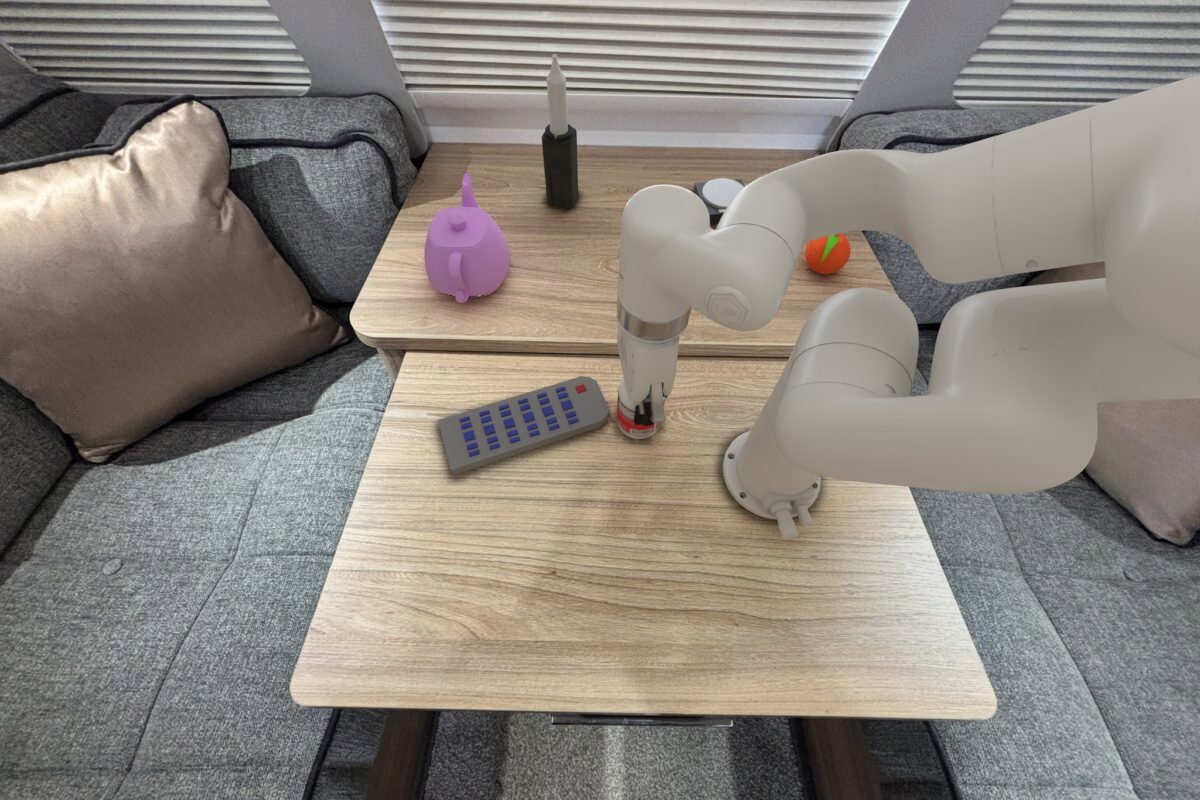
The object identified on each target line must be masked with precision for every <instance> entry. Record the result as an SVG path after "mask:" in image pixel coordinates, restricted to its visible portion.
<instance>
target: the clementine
mask: <svg viewBox="0 0 1200 800" xmlns="http://www.w3.org/2000/svg"><path fill="white" fill-rule="evenodd" d="M851 252H852V250H851V244H850V241H849V239H848V238H847V237H846V236H845V234H844V233H840V234H836V235H831V236H827V237H823V238H819V239H815V240H812V241H808V242H807V244H806V247H805V251H804V257H805V262H806V265H808V267H809V269H810V270H812V271H813V272H815V273H818V274H821V275H822V274H823V275H830V274H833V273H837V272H838V271H840V270H842V269H843V268H844V267H845V265H846V264H847V262H848V261H849V260H850V256H851Z"/></svg>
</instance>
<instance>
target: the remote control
mask: <svg viewBox="0 0 1200 800" xmlns="http://www.w3.org/2000/svg"><path fill="white" fill-rule="evenodd" d="M610 411H611V410H610V407H609V405H608V403H607V401H606V399H605V397H604V394H603V391H602V390H601V387H600V385H599V383H598V381H597V380H596V379H594V378H592V377H590V376H583V375H580V376H577V377H574V378H570V379H568V380H567V379H566V380H564V381H561V382H558V383H555V384H551V385H548V386H544V387H541V388H538V389H534V390H532V391H528V392H525V393H522V394H518V395H515V396H512V397H509V398H506V399H505V398H504V399H502V400H499V401H495V402H492V403H489V404H486V405H482V406H479V407H476V408H473V409H469V410H466V411H463V412H459V413H456V414H453V415H450V416H446V417H444V418H440V419H437V422H438V427H439V431H440V435H441V439H442V442H443V446H444V450H445V455H446V457H447V462H448V466H449V469H450V472H451V474H452V475H453V476H457V475H459V474H462V473H465V472H468V471H471V470H474V469H478V468H480V467H484V466H486V465H489V464H492V463H495V462H499V461H501V460H505V459H508V458H511V457H514V456H517V455H519V454H523V453H526V452H529V451H532V450H535V449H538V448H542V447H545V446H548V445H550V444H553V443H556V442H559V441H562V440H566V439H568V438H572V437H575V436H578V435H581V434H583V433H587V432H591V431H593V430H596V429H599V428H601V427H603V425H604V424H606V423H607V422H608V419H609V417H610V413H611V412H610Z"/></svg>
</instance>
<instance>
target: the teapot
mask: <svg viewBox="0 0 1200 800" xmlns="http://www.w3.org/2000/svg"><path fill="white" fill-rule="evenodd" d="M472 182H473V181H472V175H471V173H470V172H465V173H464V174H463V176H462V180H461V203H460V206H449V207H445V208H442V209H441V210H439V211H437V213H436V214H435V215H434V217H433V218H432V220H431V222H430V224H429V228H428V231H427V234H426V239H425V244H424V255H423V257H424V258H423V259H424V267H425V271H426V272H425V273H426V275H427V279H428V282H429V283H430V284H431V286H432V288H434V289H435V290H436V291H438V292H439V293H441V294H443V293H444V294H443V295H446V294H448V295H447V296H449V295H454V296H456V297H455V301H456V302H458V303H459V304H464V303H466V302H467V301H468V300H469V298H470V297H469V296H477V297H476V298H481V297H482V296H479V295H484V296H483V297H486V296H489V295H492V294H493V293H494V292H495V291H497V289H499V288H500V287H501V285H502V284H503V282H504V280H505V279H506V276H507V275H508V272H509V269H510V264H511V254H510V250H509V246H508V243H507V241H506V238H505V236H504V234H503V232H502V230H501V228H500V227H499V225H498V224H497V222H496V221H495V220H494V219H493V217H492V216H491V215H490V214H489V213H488V212H487V211H485V210H484V209H483V208H481V207H479V204H478V202H477V199H476V197H475V194H474V190H473V185H472ZM493 291H494V292H493ZM491 292H492V293H491ZM489 293H490V294H489ZM486 294H488V295H486Z"/></svg>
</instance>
